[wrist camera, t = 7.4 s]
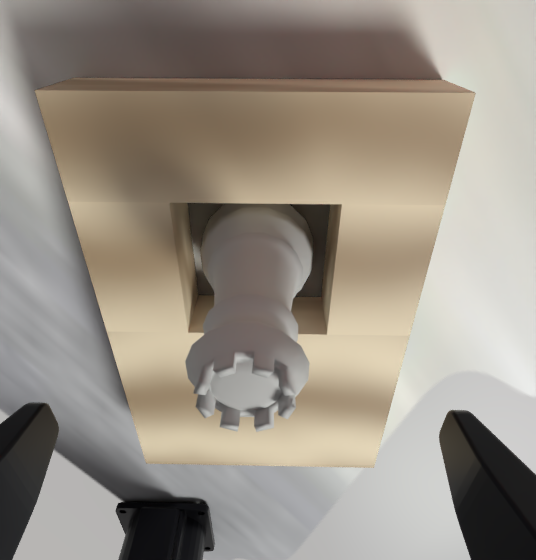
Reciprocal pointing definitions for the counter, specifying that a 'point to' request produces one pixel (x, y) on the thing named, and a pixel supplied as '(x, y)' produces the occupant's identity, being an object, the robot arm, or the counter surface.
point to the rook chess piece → (252, 314)
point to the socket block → (258, 190)
